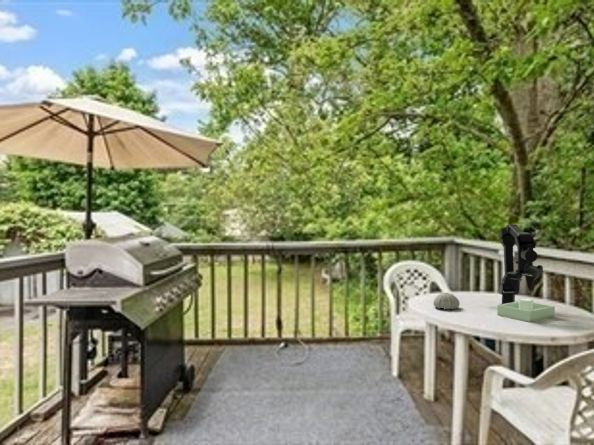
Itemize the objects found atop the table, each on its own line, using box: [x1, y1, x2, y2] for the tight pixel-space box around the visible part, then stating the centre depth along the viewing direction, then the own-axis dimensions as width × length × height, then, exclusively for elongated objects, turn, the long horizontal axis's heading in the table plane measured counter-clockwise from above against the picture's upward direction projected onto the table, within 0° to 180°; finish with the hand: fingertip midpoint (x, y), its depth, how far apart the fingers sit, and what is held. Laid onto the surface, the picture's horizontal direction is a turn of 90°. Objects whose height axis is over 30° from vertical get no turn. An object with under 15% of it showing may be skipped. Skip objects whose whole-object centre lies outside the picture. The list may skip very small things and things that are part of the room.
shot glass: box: [517, 298, 534, 311], centre depth 278 cm, size 7×7×7 cm
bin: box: [496, 300, 556, 323], centre depth 278 cm, size 18×18×5 cm
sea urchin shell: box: [433, 292, 461, 310], centre depth 300 cm, size 13×14×8 cm
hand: (523, 291), depth 279 cm, fingers open, 9 cm apart
